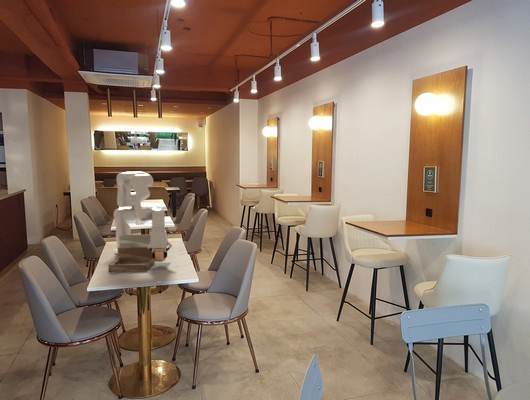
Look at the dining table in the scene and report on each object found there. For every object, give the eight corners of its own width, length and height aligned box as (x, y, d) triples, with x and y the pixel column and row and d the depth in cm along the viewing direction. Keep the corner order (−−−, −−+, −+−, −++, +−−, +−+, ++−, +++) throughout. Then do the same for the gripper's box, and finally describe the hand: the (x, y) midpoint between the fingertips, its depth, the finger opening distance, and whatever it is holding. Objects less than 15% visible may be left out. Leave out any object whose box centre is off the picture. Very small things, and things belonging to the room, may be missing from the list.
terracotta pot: (155, 259, 245) (155, 246, 244) (166, 258, 246) (166, 246, 245) (153, 262, 239) (152, 249, 238) (164, 261, 239) (163, 249, 238)
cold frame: (119, 262, 251) (117, 235, 249) (154, 261, 252) (152, 234, 250) (108, 271, 232) (106, 241, 230) (146, 270, 233) (144, 241, 231)
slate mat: (154, 263, 250) (154, 262, 249) (170, 262, 250) (170, 262, 250) (149, 269, 236) (149, 269, 236) (166, 269, 236) (166, 268, 236)
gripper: (142, 230, 236) (144, 260, 238) (171, 230, 237) (172, 259, 239) (146, 228, 243) (147, 257, 245) (174, 227, 244) (175, 256, 246)
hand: (160, 257), depth 242 cm, fingers closed on terracotta pot, 6 cm apart
